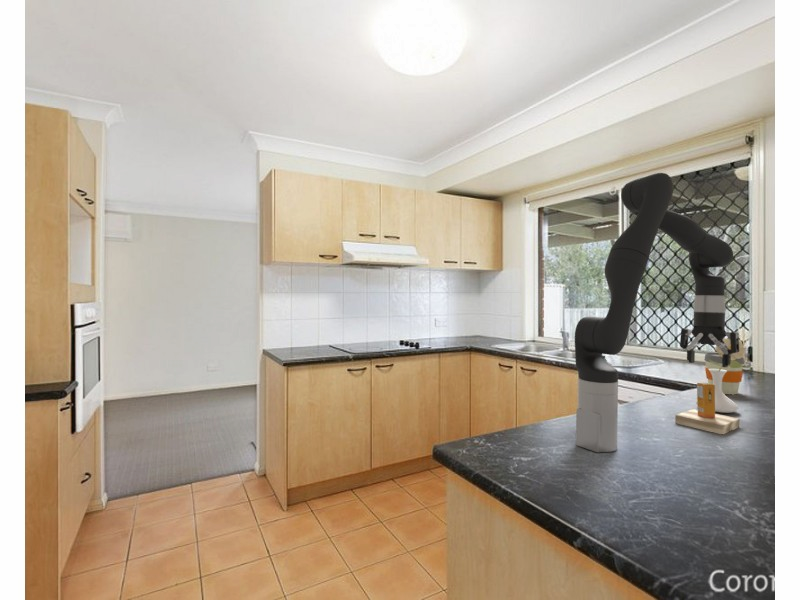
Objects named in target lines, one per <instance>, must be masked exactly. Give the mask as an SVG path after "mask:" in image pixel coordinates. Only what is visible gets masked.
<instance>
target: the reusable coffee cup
mask: <svg viewBox="0 0 800 600" xmlns="http://www.w3.org/2000/svg"><path fill="white" fill-rule="evenodd" d="M704 354H705V355H704V359H703V360H704V362H705V367H704V369H705V370H704V371H705V377H706V380H707V381H708V382H707V383H710V384H713V378H712V374H711V372H710V371H709V370H708V369H720V368H721V367H722V357H720V356H719V354H718V353H717V352H706V353H704ZM709 359H710V360H711V361H713V362H716V363H718V364H720V365H721V366H718V365H716V364H713V363H712V362H710V361H709ZM731 361H737V362H738V363H740V364H741V365H742V366H743V367H744V365H745V360H744V356H743V358H740V359H736V360H731ZM743 364H744V365H743ZM743 367H740V368H731V367H730V366H728V367H722V368H721V369H722V370H726V371H727V372H726V373H725V374H724V376H723V378H722V385H721V388H722V392H723V394H724V395H725V394H732V395H731V396H735V395H734V394H737V395H738V394H739V389H740V383H741V382H742V379H743V375H744V374H743V373H744V370H743Z"/></svg>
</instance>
